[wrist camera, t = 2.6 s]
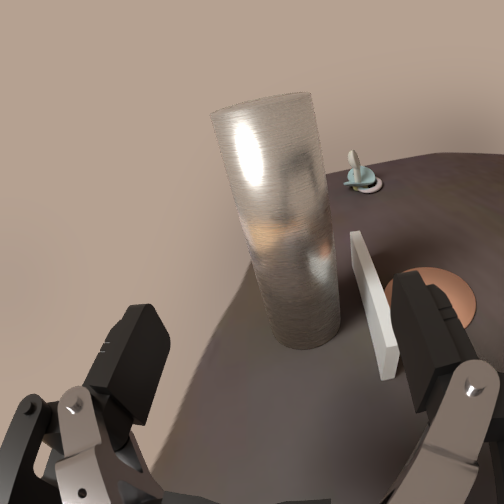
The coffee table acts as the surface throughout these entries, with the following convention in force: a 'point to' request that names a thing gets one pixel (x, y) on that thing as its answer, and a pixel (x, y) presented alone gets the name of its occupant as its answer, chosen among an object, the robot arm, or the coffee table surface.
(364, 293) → the acrylic wall
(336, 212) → the coffee table surface
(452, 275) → the terracotta coaster
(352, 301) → the coffee table surface
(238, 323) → the coffee table surface
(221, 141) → the metal tin
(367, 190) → the pacifier
